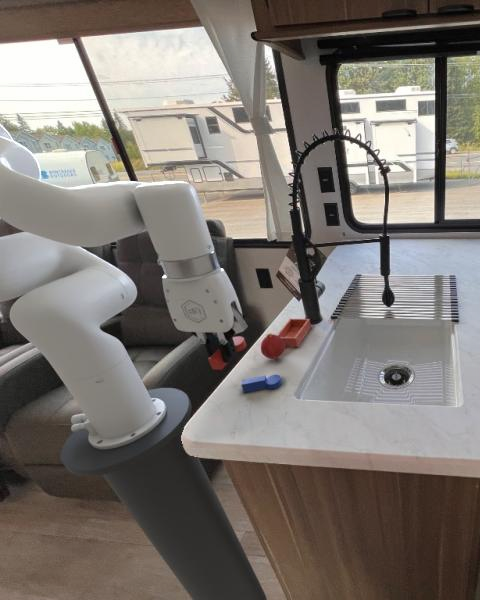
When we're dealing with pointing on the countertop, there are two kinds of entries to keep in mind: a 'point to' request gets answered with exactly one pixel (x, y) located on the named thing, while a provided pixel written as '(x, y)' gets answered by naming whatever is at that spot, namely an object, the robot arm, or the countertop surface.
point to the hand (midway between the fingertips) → (224, 357)
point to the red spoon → (217, 359)
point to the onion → (272, 346)
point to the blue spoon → (261, 383)
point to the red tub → (294, 332)
